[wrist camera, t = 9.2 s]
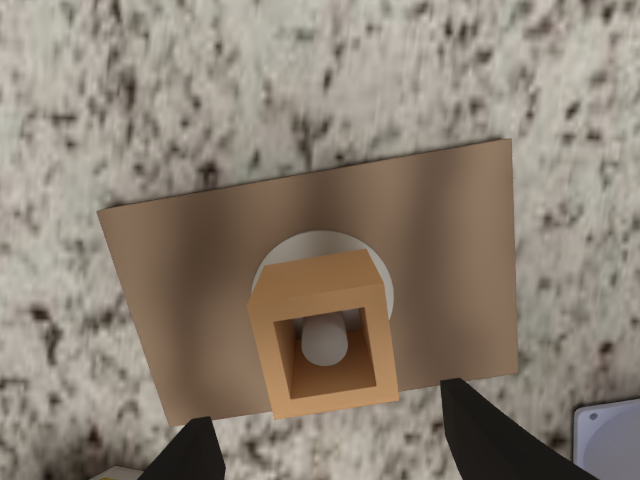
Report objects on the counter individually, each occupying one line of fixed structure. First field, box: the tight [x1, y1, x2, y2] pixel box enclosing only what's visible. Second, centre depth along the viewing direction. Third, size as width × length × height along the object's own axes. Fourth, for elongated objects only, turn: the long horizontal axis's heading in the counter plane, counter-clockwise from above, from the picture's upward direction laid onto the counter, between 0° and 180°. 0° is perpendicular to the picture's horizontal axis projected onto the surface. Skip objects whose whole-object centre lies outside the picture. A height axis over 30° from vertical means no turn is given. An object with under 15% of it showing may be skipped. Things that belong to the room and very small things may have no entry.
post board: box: [96, 138, 518, 427], centre depth 18 cm, size 22×14×6 cm, turn 100°
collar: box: [247, 249, 400, 420], centre depth 17 cm, size 6×6×5 cm
